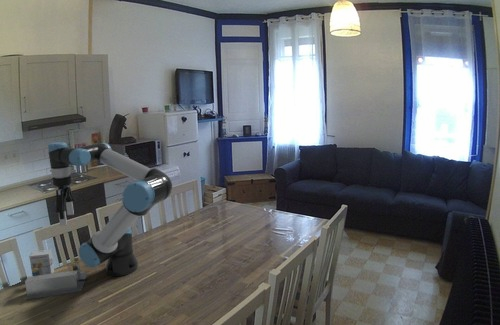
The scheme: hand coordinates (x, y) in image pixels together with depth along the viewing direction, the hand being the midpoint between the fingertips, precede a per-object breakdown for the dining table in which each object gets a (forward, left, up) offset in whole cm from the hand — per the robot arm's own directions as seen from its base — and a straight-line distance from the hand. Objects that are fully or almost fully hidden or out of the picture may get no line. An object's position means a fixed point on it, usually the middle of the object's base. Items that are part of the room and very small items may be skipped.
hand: (67, 219), depth 159 cm
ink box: (+15, -5, -29) cm, 33 cm away
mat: (+5, +12, -29) cm, 32 cm away
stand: (+6, +4, -29) cm, 30 cm away
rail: (+6, +12, -28) cm, 31 cm away
